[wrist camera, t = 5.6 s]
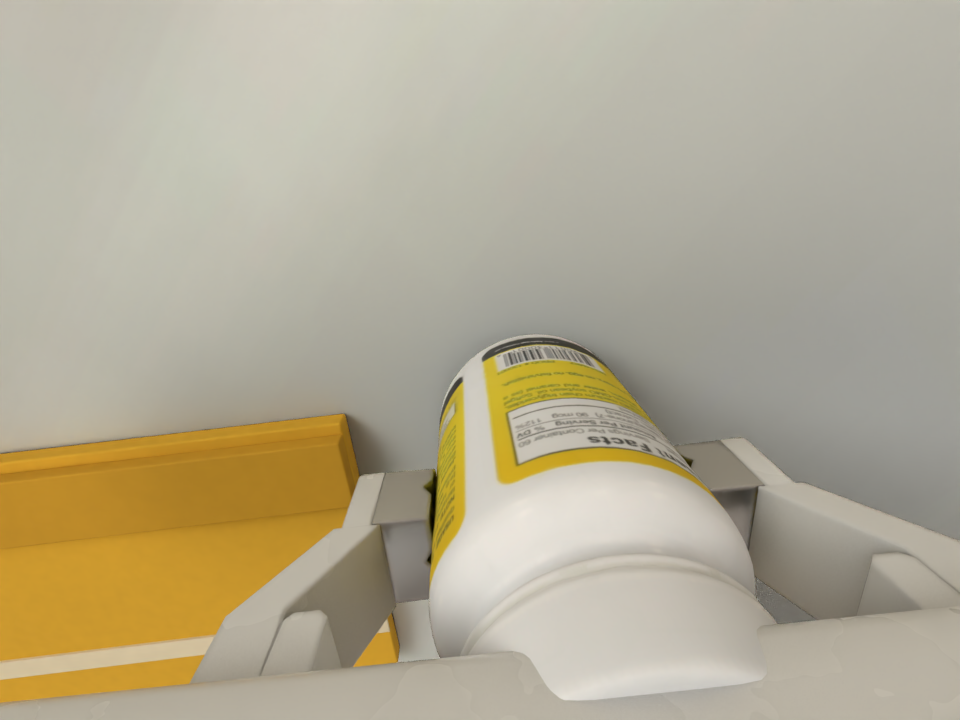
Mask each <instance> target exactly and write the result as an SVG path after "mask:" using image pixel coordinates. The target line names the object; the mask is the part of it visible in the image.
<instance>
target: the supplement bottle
mask: <svg viewBox="0 0 960 720" xmlns="http://www.w3.org/2000/svg"><path fill="white" fill-rule="evenodd" d="M755 593H756V590H755V576H754V570H753V564H752V561H751V558H750V555H749V552H748V549H747V547H746V544H745V542H744V540H743V537H742V536H741V534H740V532H739V530H738V529H737V527H736V525H735V524H734V522H733V521H732V519H731V518H730V516H729V515H728V513H727V512H726V511H725V509H724V508H723V507H722V505H721V504H720V503H719V502H718V500H717V499H716V498H715V497H714V495H713V494H712V493H711V492H710V490H709V489H708V488H707V487H706V486H705V484H704V483H703V482H702V481H701V480H700V479H699V477H698V476H697V475H696V473H695V472H694V471H693V470H692V469H691V468H690V467H689V465H688V464H687V463H686V461H685V460H684V459H683V458H682V456H681V455H680V454H679V453H678V452H677V451H676V450H675V448H674V447H673V446H672V445H671V443H670V442H669V441H668V440H667V438H666V437H665V436H664V435H663V433H662V432H661V431H660V430H659V429H658V428H657V426H656V425H655V424H654V423H653V422H652V420H651V419H650V418H649V417H648V415H647V414H646V413H645V412H644V411H643V409H642V408H641V407H640V406H639V405H638V403H637V402H636V401H635V400H634V399H633V397H632V396H631V395H630V394H629V392H628V391H627V390H626V389H625V388H624V386H623V385H622V384H621V383H620V382H619V381H618V379H617V378H616V377H615V376H614V374H613V373H612V372H611V371H610V369H609V368H608V367H607V366H606V365H605V364H604V363H603V362H602V361H601V360H600V359H599V358H598V357H597V356H596V355H595V354H594V353H592V352H591V351H589V350H588V349H586V348H585V347H583V346H581V345H579V344H577V343H575V342H572V341H570V340H567V339H564V338H561V337H557V336H552V335H543V334H531V335H521V336H516V337H511V338H508V339H505V340H502V341H499V342H497V343H495V344H493V345H491V346H489V347H487V348H485V349H484V350H482V351H481V352H479V353H478V354H477V355H475V356H474V357H473V358H472V359H471V360H469V361H468V362H467V363H466V364H465V365H464V367H463V368H462V369H461V370H460V371H459V373H458V374H457V375H456V376H455V378H454V380H453V381H452V383H451V385H450V386H449V389H448V391H447V393H446V395H445V398H444V401H443V405H442V410H441V417H440V428H439V444H438V464H437V481H436V496H435V511H434V526H433V542H432V557H431V569H430V587H429V615H430V623H431V629H432V634H433V639H434V642H435V646H436V649H437V652H438V654H439V657H440V658H448V657H458V656H467V655H477V654H487V653H497V652H508V651H515V652H520V653H523V654H525V655H526V656H527V657H529V658H530V660H531V661H532V663H533V664H534V666H535V667H536V669H537V671H538V672H539V674H540V676H541V677H542V679H543V681H544V682H545V684H546V686H547V687H548V688H549V689H550V690H551V691H552V692H553V693H554V694H555V695H556V696H558V697H559V698H561V699H563V700H575V701H580V700H598V699H608V698H618V697H627V696H637V695H647V694H656V693H666V692H676V691H685V690H694V689H704V688H713V687H722V686H731V685H739V684H745V683H749V682H754V681H759V680H762V679H763V677H764V676H765V675H766V674H767V664H766V661H765V658H764V655H763V652H762V649H761V646H760V643H759V640H758V637H757V629H758V628H759V627H760V626H763V625H773V624H777V623H776V621H775V620H774V619H773V617H772V616H771V615H770V614H769V613H768V612H767V611H766V610H765V609H764V608H763V607H762V605H761V604H760V603H759V601H758V600H757V599H756V598H755Z"/></svg>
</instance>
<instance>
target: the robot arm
mask: <svg viewBox="0 0 960 720" xmlns="http://www.w3.org/2000/svg"><path fill="white" fill-rule="evenodd" d="M673 447H674V448H675V450H676V451H677V452H678V453H679V454H680V455H681V456H682V458H683V459H684V460H685V461H686V463H687V464H688V465H689V467H690V468H691V469H692V470H693V471H694V472H695V473H696V475H697V476H698V477H699V479H700V480H701V481H702V482H703V483H704V484H705V486H706V487H707V488H708V489H709V490H710V492H711V493H712V494H713V495H714V497H715V498H716V499H717V500H718V502H719V503H720V504H721V505H722V507H723V508H724V509H725V511H726V512H727V513H728V515H729V516H730V518H731V519H732V521H733V522H734V524H735V525H736V527H737V529H738V530H739V532H740V534H741V536H742V537H743V540H744V542H745V544H746V547H747V549H748V552H749V555H750V558H751V561H752V564H753V570H754V576H755V577H756V578H757V579H759V580H760V581H762V582H763V583H765V584H766V585H768V586H769V587H770V588H772V589H773V590H775V591H776V592H778V593H779V594H781V595H782V596H783V597H785V598H786V599H788V600H789V601H791V602H792V603H794V604H795V605H796V606H798V607H799V608H801V609H802V610H804V611H805V612H807V613H808V614H809V615H811V616H812V617H814V618H815V619H817V620H814V621H804V622H793V623H783V624H773V625H763V626H760V627H759V628H758V629H757V637H758V640H759V643H760V646H761V649H762V652H763V655H764V658H765V661H766V664H767V674H766V675H765V676H764V677H763V679H762V680H759V681H754V682H749V683H745V684H739V685H731V686H722V687H713V688H704V689H694V690H685V691H676V692H666V693H656V694H647V695H637V696H627V697H618V698H608V699H598V700H580V701H575V700H563V699H561V698H559V697H558V696H556V695H555V694H554V693H553V692H552V691H551V690H550V689H549V688H548V687H547V686H546V684H545V682H544V681H543V679H542V677H541V676H540V674H539V672H538V671H537V669H536V667H535V666H534V664H533V663H532V661H531V660H530V658H529V657H527V656H526V655H525V654H523V653H520V652H515V651H508V652H497V653H487V654H477V655H467V656H458V657H448V658H438V659H428V660H418V661H408V662H398V663H388V664H378V665H369V666H359V667H353V666H354V665H355V663H356V662H357V660H358V659H359V658H360V656H361V655H362V653H363V652H364V650H365V649H366V648H367V646H368V645H369V643H370V642H371V641H372V639H373V638H374V636H375V635H376V634H377V632H378V631H379V629H380V628H381V627H382V625H383V624H384V622H385V621H386V620H387V618H388V617H389V615H390V614H391V613H392V611H393V610H394V608H395V607H396V603H401V602H409V601H417V600H425V599H429V587H430V569H431V557H432V542H433V526H434V511H435V496H436V481H437V477H436V472H435V469H424V470H412V471H399V472H387V473H375V474H365V475H362V476H360V477H359V479H358V482H357V484H356V487H355V490H354V493H353V496H352V499H351V502H350V505H349V508H348V511H347V514H346V517H345V519H344V522H343V525H342V528H338V529H333V530H332V531H331V532H330V533H328V534H327V535H326V536H325V537H324V538H322V539H321V540H320V541H319V542H317V543H316V544H315V545H314V546H312V547H311V548H310V549H309V550H307V551H306V552H305V553H304V554H303V555H301V556H300V557H299V558H298V559H296V560H295V561H294V562H293V563H291V564H290V565H289V566H288V567H286V568H285V569H284V570H283V571H282V572H280V573H279V574H278V575H277V576H275V577H274V578H273V579H272V580H270V581H269V582H268V583H267V584H265V585H264V586H263V587H262V588H261V589H259V590H258V591H257V592H256V593H254V594H253V595H252V596H251V597H249V598H248V599H247V600H246V601H244V602H243V603H242V604H241V605H240V606H238V607H237V608H236V609H235V610H233V611H232V612H231V613H230V614H228V615H227V616H226V617H225V618H224V620H223V622H222V624H221V626H220V628H219V630H218V631H217V633H216V635H215V637H214V639H213V641H212V642H211V644H210V646H209V648H208V650H207V652H206V654H205V655H204V657H203V659H202V661H201V663H200V665H199V666H198V668H197V670H196V672H195V674H194V676H193V678H192V679H191V681H190V683H189V684H181V685H171V686H161V687H151V688H141V689H131V690H121V691H111V692H101V693H91V694H81V695H71V696H61V697H51V698H41V699H31V700H21V701H11V702H1V703H0V720H960V541H959V540H956V539H954V538H951V537H948V536H946V535H943V534H940V533H938V532H935V531H932V530H930V529H927V528H924V527H922V526H919V525H916V524H914V523H911V522H908V521H906V520H903V519H900V518H898V517H895V516H892V515H890V514H887V513H884V512H882V511H879V510H876V509H874V508H871V507H868V506H866V505H863V504H860V503H858V502H855V501H852V500H850V499H847V498H844V497H842V496H839V495H836V494H834V493H831V492H828V491H826V490H823V489H820V488H818V487H815V486H812V485H810V484H807V483H804V482H801V483H795V482H794V481H792V480H791V479H790V478H789V477H788V476H787V475H786V474H785V473H784V472H782V471H781V470H780V469H779V468H778V467H777V466H776V465H775V464H774V463H772V462H771V461H770V460H769V459H768V458H767V457H766V456H765V455H764V454H762V453H761V452H760V451H759V450H758V449H757V448H756V447H755V446H753V445H752V444H751V443H750V442H749V441H748V440H747V439H744V438H741V437H737V438H729V439H722V440H716V441H709V442H701V443H692V444H684V445H675V446H673Z"/></svg>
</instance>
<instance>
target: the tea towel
mask: <svg viewBox="0 0 960 720" xmlns="http://www.w3.org/2000/svg"><path fill="white" fill-rule="evenodd" d="M359 477H360V476H359V471H358V467H357V463H356V458H355V454H354V450H353V446H352V441H351V437H350V433H349V428H348V424H347V420H346V416H345V414H337V415H329V416H320V417H312V418H303V419H295V420H286V421H278V422H269V423H261V424H252V425H244V426H235V427H226V428H218V429H209V430H201V431H192V432H184V433H175V434H167V435H158V436H150V437H141V438H133V439H124V440H116V441H107V442H99V443H90V444H81V445H73V446H64V447H56V448H47V449H39V450H30V451H22V452H13V453H5V454H0V703H1V702H11V701H21V700H31V699H41V698H51V697H61V696H71V695H81V694H91V693H101V692H111V691H121V690H131V689H141V688H151V687H161V686H171V685H181V684H189V683H190V681H191V679H192V678H193V676H194V674H195V672H196V670H197V668H198V666H199V665H200V663H201V661H202V659H203V657H204V655H205V654H206V652H207V650H208V648H209V646H210V644H211V642H212V641H213V639H214V637H215V635H216V633H217V631H218V630H219V628H220V626H221V624H222V622H223V620H224V618H225V617H226V616H227V615H228V614H230V613H231V612H232V611H233V610H235V609H236V608H237V607H238V606H240V605H241V604H242V603H243V602H244V601H246V600H247V599H248V598H249V597H251V596H252V595H253V594H254V593H256V592H257V591H258V590H259V589H261V588H262V587H263V586H264V585H265V584H267V583H268V582H269V581H270V580H272V579H273V578H274V577H275V576H277V575H278V574H279V573H280V572H282V571H283V570H284V569H285V568H286V567H288V566H289V565H290V564H291V563H293V562H294V561H295V560H296V559H298V558H299V557H300V556H301V555H303V554H304V553H305V552H306V551H307V550H309V549H310V548H311V547H312V546H314V545H315V544H316V543H317V542H319V541H320V540H321V539H322V538H324V537H325V536H326V535H327V534H328V533H330V532H331V531H332V530H333V529H338V528H342V525H343V522H344V519H345V517H346V514H347V511H348V508H349V505H350V502H351V499H352V496H353V493H354V490H355V487H356V484H357V482H358V479H359ZM399 648H400V647H399V643H398V638H397V634H396V630H395V625H394V621H393V617H392V613H391V614H390V615H389V617H388V618H387V620H386V621H385V622H384V624H383V625H382V627H381V628H380V629H379V631H378V632H377V634H376V635H375V636H374V638H373V639H372V641H371V642H370V643H369V645H368V646H367V648H366V649H365V650H364V652H363V653H362V655H361V656H360V658H359V659H358V660H357V662H356V663H355V665H354V666H353V667H359V666H369V665H378V664H388V663H397V662H398V656H399Z"/></svg>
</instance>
